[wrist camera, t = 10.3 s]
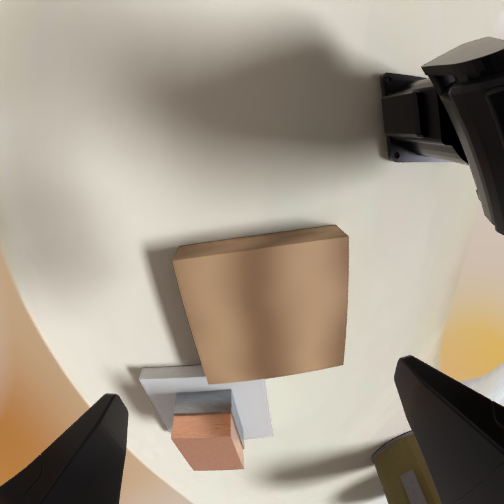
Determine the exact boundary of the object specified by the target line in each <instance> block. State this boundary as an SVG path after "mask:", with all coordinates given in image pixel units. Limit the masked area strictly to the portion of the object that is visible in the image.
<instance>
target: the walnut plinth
mask: <svg viewBox="0 0 504 504" xmlns="http://www.w3.org/2000/svg"><path fill="white" fill-rule="evenodd" d="M172 262H173V266H174V270H175V274H176V278H177V282H178V286H179V290H180V293H181V297H182V301H183V304H184V308H185V311H186V315H187V318H188V322H189V325H190V328H191V332H192V335H193V338H194V342H195V345H196V348H197V351H198V354H199V357H200V361H201V364H202V367H203V370H204V373H205V376H206V379H207V382H208V384H209V385H210V384H223V383H233V382H243V381H252V380H260V379H267V378H274V377H281V376H287V375H294V374H299V373H305V372H310V371H316V370H321V369H326V368H331V367H335V366H340V365H343V362H344V351H345V338H346V324H347V306H348V277H349V236H348V235H347V234H346V233H344V232H343V231H342V230H341V229H340V228H339V227H338V226H337V225H332V226H325V227H317V228H309V229H301V230H294V231H286V232H279V233H271V234H264V235H257V236H249V237H242V238H235V239H228V240H221V241H214V242H207V243H200V244H193V245H187V246H180V247H179V248H178V250H177V252H176V254H175V256H174V258H173V260H172Z"/></svg>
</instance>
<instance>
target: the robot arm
mask: <svg viewBox="0 0 504 504" xmlns="http://www.w3.org/2000/svg"><path fill="white" fill-rule="evenodd" d="M421 68H422V70H423V71H424V73H425V75H428V77H429V78H428V79H427V78H421V77H415V76H408V75H401V74H393V73H385V74H382V75H381V77H380V82H381V88H382V95H383V98H382V109H383V118H384V128H385V133H386V135H387V144H388V156H389V159H390V160H391V161H393V162H456V163H461V164H465V165H469V166H470V169H471V172H472V175H473V178H474V181H475V184H476V187H477V190H476V192H477V195H478V198H479V200H480V201H481V203H482V207H483V211H484V214H485V216H486V217H487V218H488V219H489V221H490V222H491V223H492V224H493V225H495V230H496V231H497V232H499V233H500V234H502V235H504V40H501V39H497V38H492V37H485V38H481V39H478V40H475V41H471V42H468V43H465V44H462V45H460V46H458V47H456V48H454V49H452V50H450V51H448V52H446V53H445V54H443V55H441V56H439V57H437V58H435V59H434V60H432V61H430V62H428V63H426V64H424V65H423V66H421ZM386 77H387V78H388V79H389V83H388V82H387V81H386ZM395 152H396V153H397V157H396V158H395V157H394V153H395ZM394 381H395V384H396V387H397V390H398V393H399V396H400V399H401V402H402V405H403V408H404V412H405V415H406V418H407V420H408V423H409V425H410V427H411V429H412V432H413V434H414V436H415V439H416V441H417V443H418V446H419V448H420V450H421V453H422V455H423V457H424V460H425V462H426V465H427V467H428V470H429V472H430V475H431V477H432V480H433V482H434V485H435V488H436V490H437V493H438V496H439V498H440V501H441V504H504V407H503V406H501V405H500V404H498V403H496V402H494V401H491V400H490V399H489V398H487V397H485V396H483V395H481V394H480V393H478V392H476V391H474V390H472V389H471V388H469V387H467V386H465V385H463V384H462V383H460V382H458V381H456V380H454V379H453V378H451V377H449V376H447V375H445V374H444V373H442V372H440V371H438V370H437V369H435V368H433V367H431V366H430V365H428V364H426V363H424V362H423V361H421V360H419V359H417V358H415V357H414V356H411V355H408V356H405V357H402V358H400V359H399V360H398V363H397V367H396V371H395V374H394ZM127 427H128V410H127V408H126V406H125V405H124V403H123V402H122V400H121V399H120V397H119V396H118V395H117V394H110V393H107V394H105V395H103V396H102V397H101V398H100V399H99V400H98V401H97V402H96V403H95V404H94V405H93V406H92V407H91V408H90V409H89V410H88V411H86V412H85V413H84V414H83V415H82V416H81V417H80V418H79V419H78V420H77V421H76V422H75V423H73V425H71V426H70V427H69V428H68V429H67V430H66V431H65V432H64V433H63V434H62V435H61V436H60V437H58V438H57V439H56V440H55V441H54V442H53V443H52V444H51V445H50V446H49V447H48V448H47V449H46V450H44V451H43V452H42V453H41V455H39V456H38V457H37V458H36V459H35V460H34V461H33V462H31V463H30V464H29V465H28V466H27V467H26V468H24V469H23V470H22V471H21V472H19V473H18V474H17V475H15V476H14V477H13V478H11V479H10V480H9V481H7V482H6V483H4V484H3V485H2V486H0V504H119V498H120V490H121V483H122V476H123V469H124V462H125V456H126V444H127Z"/></svg>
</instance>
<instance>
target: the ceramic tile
mask: <svg viewBox="0 0 504 504" xmlns="http://www.w3.org/2000/svg"><path fill="white" fill-rule="evenodd" d="M139 381H140V382H141V384H142V386H143V388H144V390H145V392H146V394H147V395H148V397H149V399H150V401H151V403H152V404H153V406H154V408H155V410H156V411H157V413H158V415H159V416H160V418H161V420H162V421H163V423H164V425H165V426H166V428H167V429H168V431H169V433H170V434H172V428H173V422H174V415H173V409H174V404H175V398H176V393H179V392H200V391H215V390H227V389H231V390H232V393H233V397H234V400H235V404H236V407H237V410H238V414H239V417H240V420H241V424H242V427H243V432H244V439H254V438H263V437H271V436H273V429H272V422H271V416H270V409H269V403H268V396H267V390H266V383H265V379H260V380H252V381H243V382H233V383H223V384H210V385H209V384H208V382H207V379H206V376H205V373H204V370H203V367H202V365H194V366H178V367H156V368H142V371H141V374H140V377H139Z"/></svg>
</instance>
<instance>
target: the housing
mask: <svg viewBox="0 0 504 504" xmlns="http://www.w3.org/2000/svg"><path fill="white" fill-rule="evenodd" d="M173 415H174V422H173V428H172V434H171V439H172V440H173V442H174V443H175V445H176V446H177V448H178V449H179V451H180V452H181V454H182V455H183V456H184V458H185V459H186V461H187V462H188V463H189V465H190V466H191V467H192V469H193V470H195V471H207V470H235V469H244V459H243V449H244V432H243V427H242V424H241V420H240V417H239V414H238V410H237V407H236V404H235V400H234V397H233V393H232V390H231V389H227V390H215V391H200V392H179V393H176V398H175V404H174V409H173Z"/></svg>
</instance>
